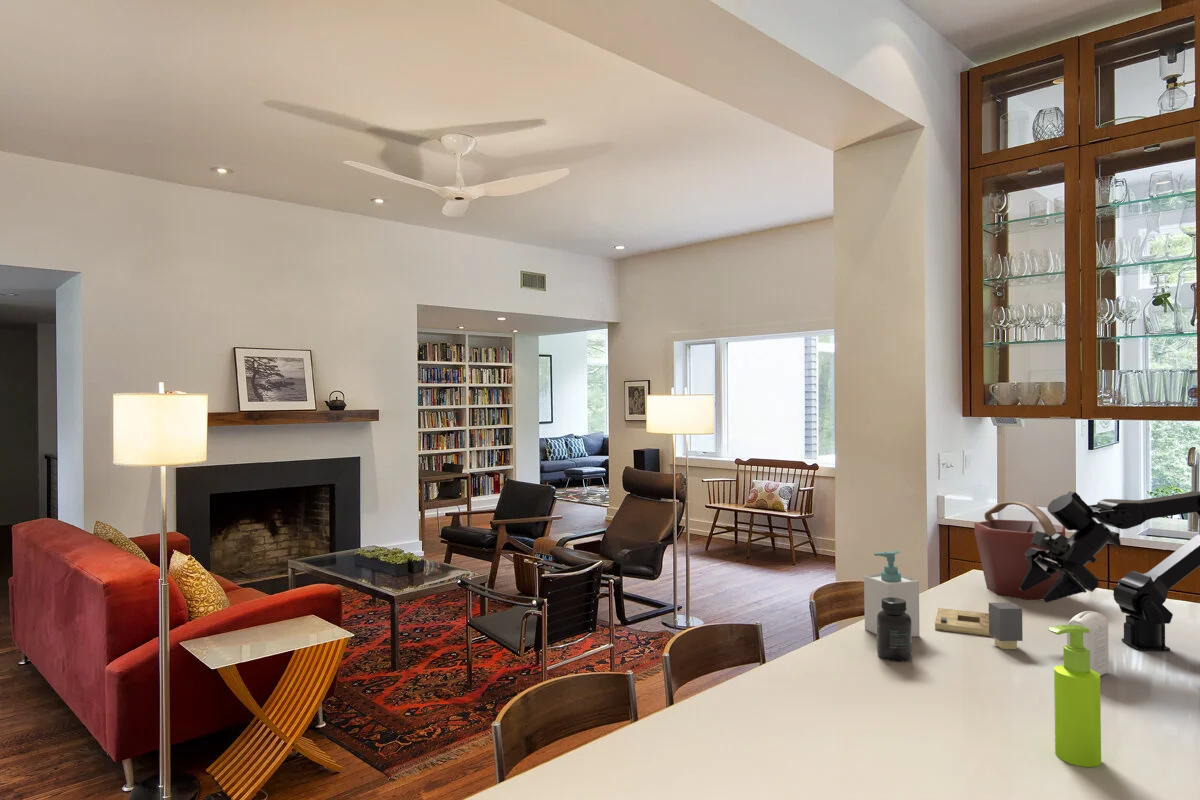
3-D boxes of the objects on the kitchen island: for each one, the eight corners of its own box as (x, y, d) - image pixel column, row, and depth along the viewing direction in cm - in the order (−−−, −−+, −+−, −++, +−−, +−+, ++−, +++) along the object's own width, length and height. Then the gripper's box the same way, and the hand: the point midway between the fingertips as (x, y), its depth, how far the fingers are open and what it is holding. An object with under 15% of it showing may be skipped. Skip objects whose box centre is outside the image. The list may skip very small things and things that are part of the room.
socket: (1001, 620, 179) (1001, 612, 179) (1002, 637, 166) (1002, 628, 166) (938, 613, 185) (938, 605, 185) (935, 629, 173) (934, 620, 173)
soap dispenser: (1040, 749, 114) (1038, 621, 114) (1081, 747, 114) (1080, 619, 114) (1067, 768, 108) (1065, 633, 108) (1111, 766, 109) (1109, 631, 109)
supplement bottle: (875, 649, 160) (875, 595, 160) (909, 652, 158) (908, 596, 158) (878, 660, 153) (878, 603, 153) (914, 663, 151) (913, 605, 151)
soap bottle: (863, 629, 174) (862, 549, 174) (894, 625, 176) (893, 546, 176) (888, 640, 165) (887, 556, 165) (920, 636, 168) (919, 553, 168)
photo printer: (1088, 666, 149) (1087, 605, 149) (1112, 672, 145) (1111, 610, 145) (1063, 677, 143) (1063, 614, 143) (1088, 684, 139) (1087, 619, 139)
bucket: (965, 580, 219) (964, 496, 219) (1045, 582, 216) (1044, 497, 216) (998, 603, 194) (997, 509, 194) (1088, 605, 191) (1087, 509, 191)
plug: (1010, 642, 163) (1010, 602, 163) (1022, 650, 158) (1022, 608, 158) (989, 642, 163) (988, 602, 163) (1000, 650, 158) (999, 608, 158)
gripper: (1032, 512, 170) (984, 559, 170) (1083, 526, 151) (1029, 579, 151) (1067, 546, 169) (1019, 593, 170) (1122, 564, 151) (1068, 617, 151)
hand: (1032, 595), depth 161 cm, fingers open, 9 cm apart
